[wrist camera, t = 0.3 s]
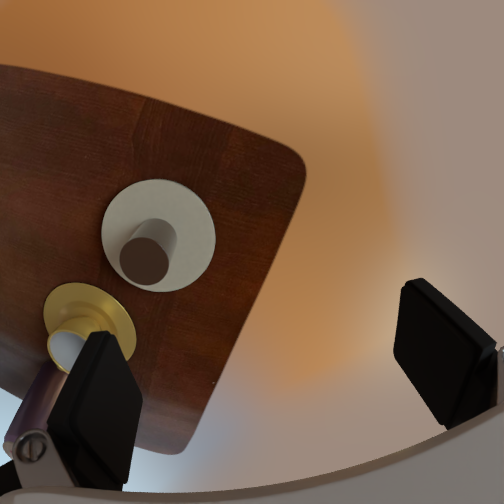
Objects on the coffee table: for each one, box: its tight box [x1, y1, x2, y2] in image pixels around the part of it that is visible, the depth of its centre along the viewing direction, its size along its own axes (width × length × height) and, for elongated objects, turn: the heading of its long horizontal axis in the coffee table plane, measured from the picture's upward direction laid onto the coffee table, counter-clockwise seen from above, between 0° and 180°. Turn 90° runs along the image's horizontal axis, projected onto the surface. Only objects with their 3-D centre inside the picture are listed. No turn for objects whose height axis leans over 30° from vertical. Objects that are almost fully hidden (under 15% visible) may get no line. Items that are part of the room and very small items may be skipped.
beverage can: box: [3, 360, 69, 460], centre depth 28 cm, size 6×6×15 cm
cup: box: [44, 283, 136, 374], centre depth 30 cm, size 12×12×5 cm
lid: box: [101, 179, 215, 292], centre depth 26 cm, size 11×11×7 cm
